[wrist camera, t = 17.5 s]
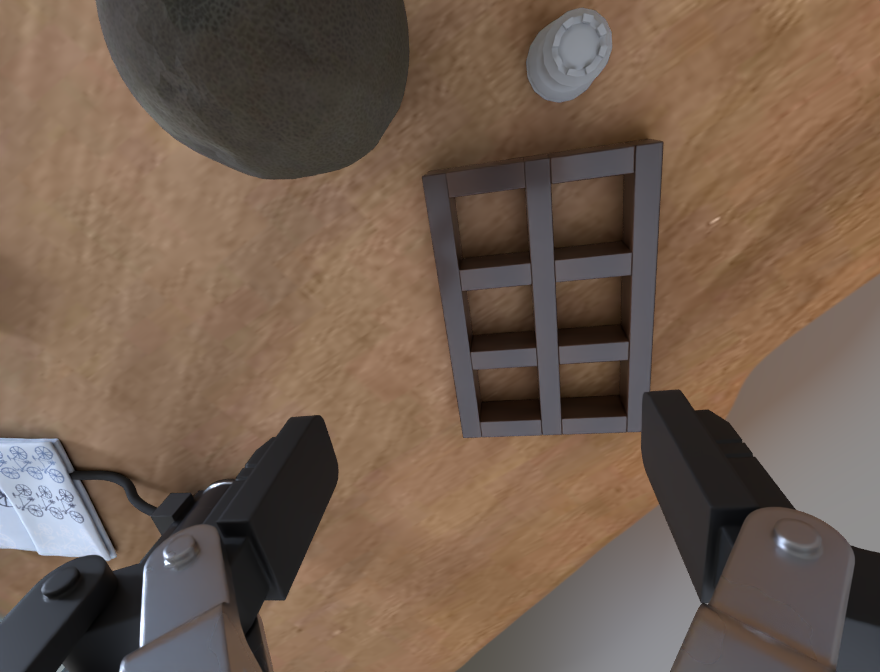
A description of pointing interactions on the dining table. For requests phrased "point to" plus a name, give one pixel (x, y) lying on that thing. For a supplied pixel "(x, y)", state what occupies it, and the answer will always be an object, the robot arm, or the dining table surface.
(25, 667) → the robot arm
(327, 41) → the cantaloupe
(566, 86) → the rook chess piece
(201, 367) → the dining table surface
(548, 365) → the open grid frame
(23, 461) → the white paper booklet
